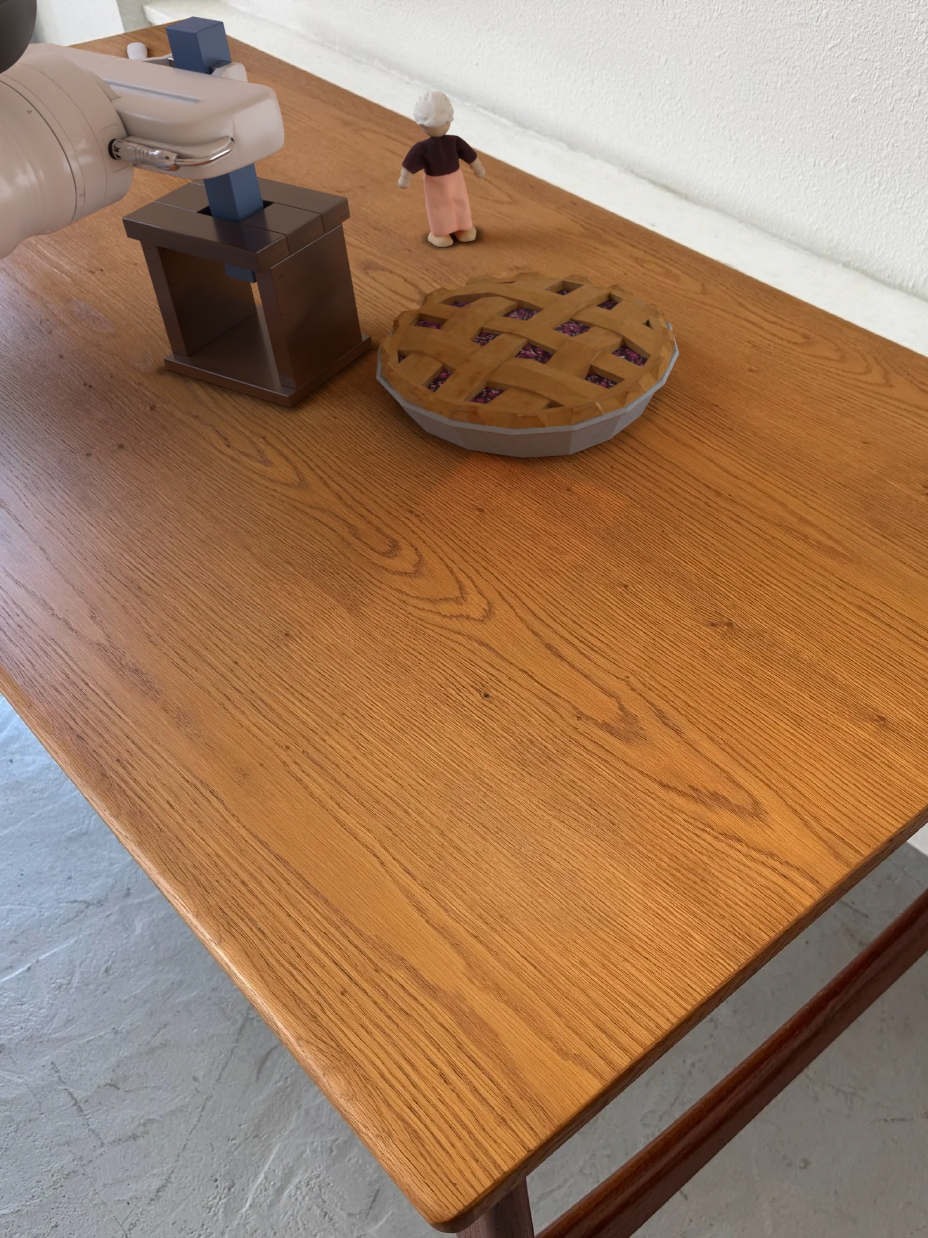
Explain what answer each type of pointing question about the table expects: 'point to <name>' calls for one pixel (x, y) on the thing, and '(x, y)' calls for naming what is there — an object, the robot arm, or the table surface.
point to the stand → (225, 307)
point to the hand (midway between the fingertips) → (214, 69)
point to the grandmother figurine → (442, 171)
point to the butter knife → (137, 51)
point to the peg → (239, 189)
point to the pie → (527, 363)
